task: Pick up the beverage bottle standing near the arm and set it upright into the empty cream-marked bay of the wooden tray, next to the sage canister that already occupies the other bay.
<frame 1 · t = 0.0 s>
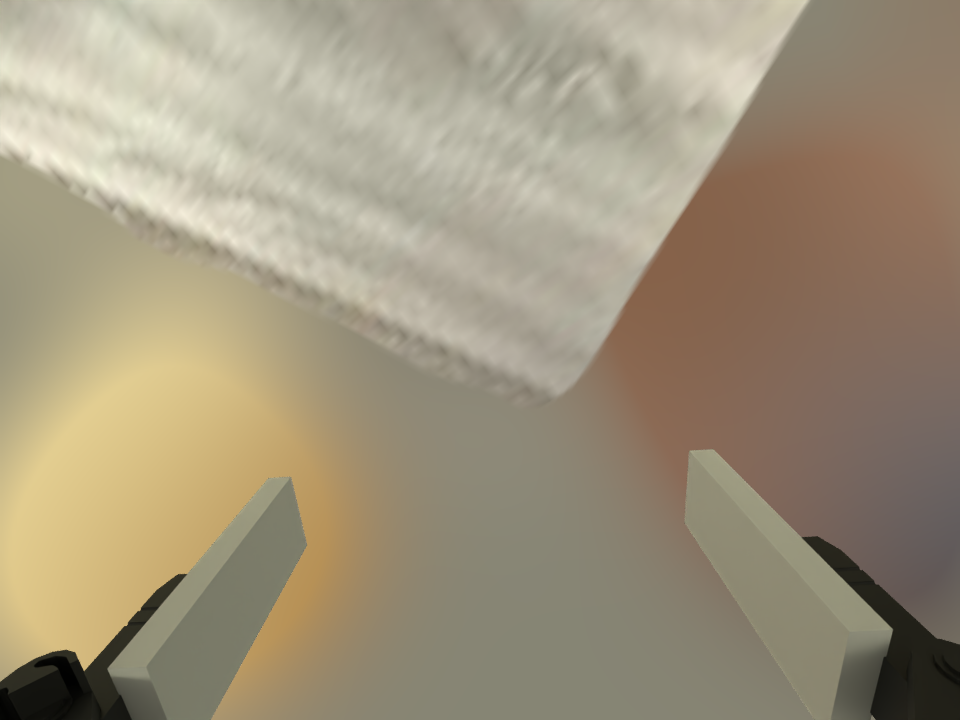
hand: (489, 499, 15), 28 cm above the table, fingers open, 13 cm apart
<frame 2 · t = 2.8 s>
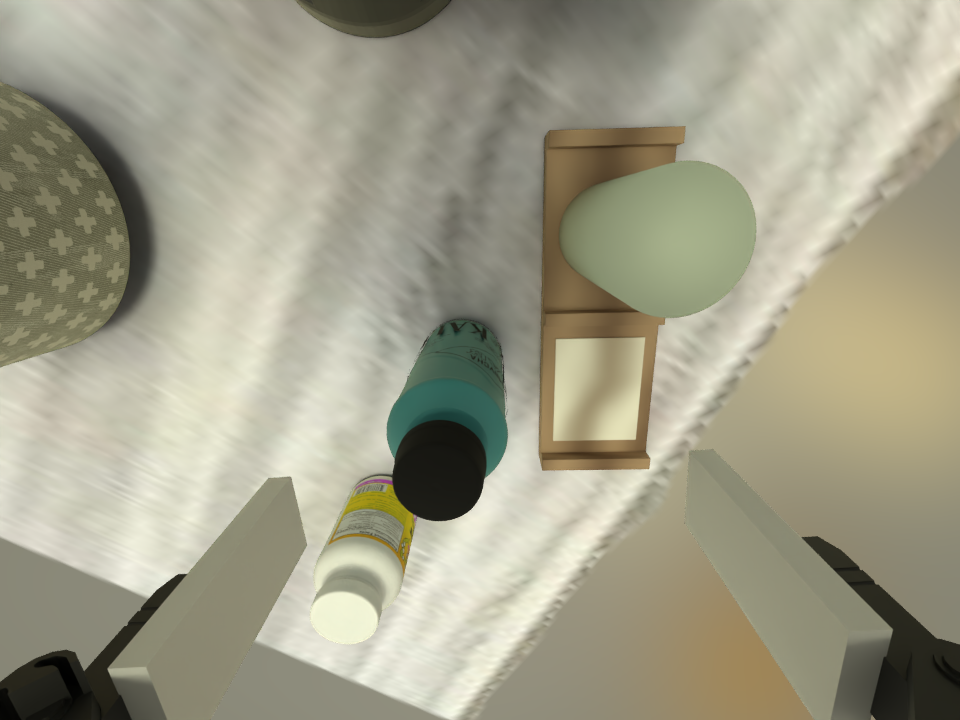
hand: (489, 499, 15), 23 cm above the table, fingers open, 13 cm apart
wooden tray: (596, 312, 36), on the table
supplement bottle: (385, 501, 42), on the table
beverage bottle: (463, 349, 38), on the table
planter: (38, 222, 35), on the table
sage canister: (601, 232, 34), resting on wooden tray
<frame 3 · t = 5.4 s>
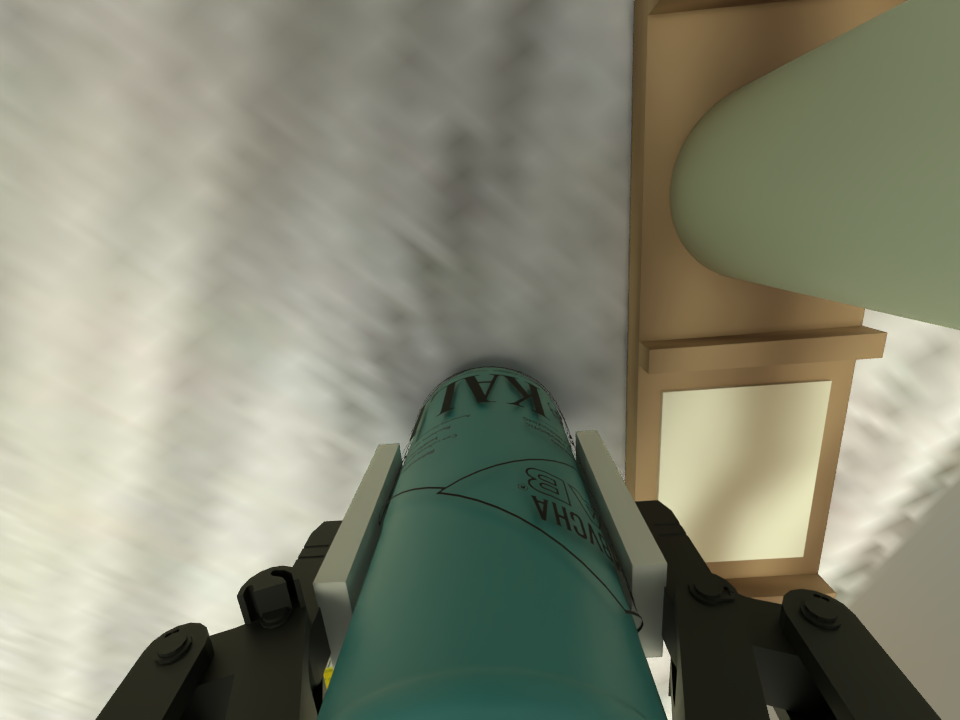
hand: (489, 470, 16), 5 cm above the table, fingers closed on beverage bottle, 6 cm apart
wooden tray: (729, 336, 20), on the table
beverage bottle: (488, 413, 21), on the table, touching gripper
sage canister: (742, 187, 18), resting on wooden tray
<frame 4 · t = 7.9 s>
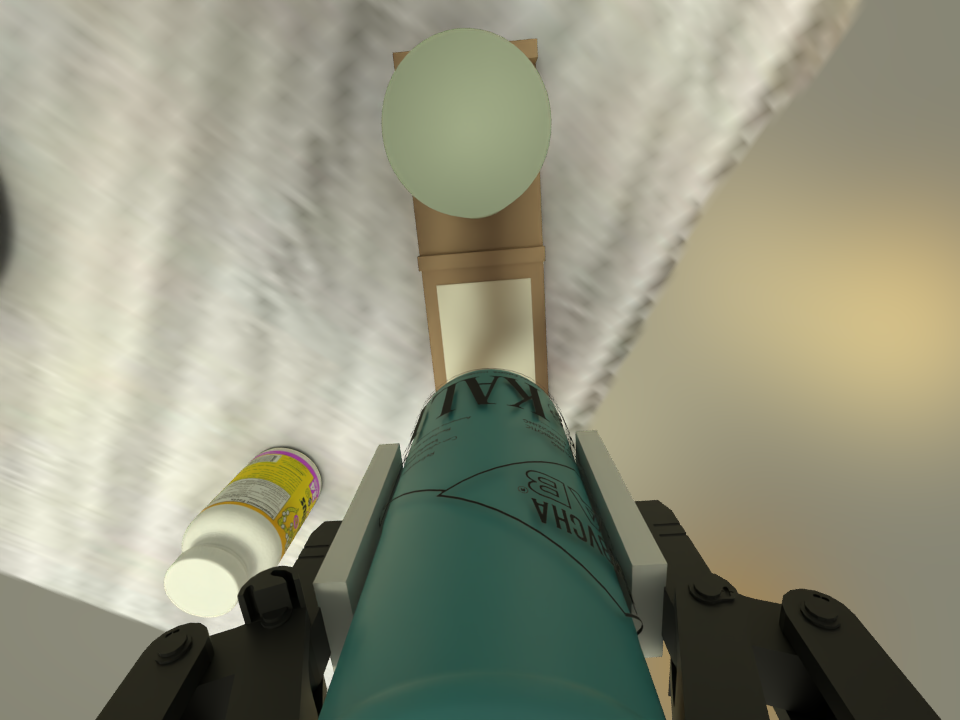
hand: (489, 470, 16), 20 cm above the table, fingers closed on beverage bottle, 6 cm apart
wooden tray: (481, 256, 34), on the table
supplement bottle: (288, 476, 40), on the table
beverage bottle: (489, 414, 21), point 15 cm above the table, touching gripper
sage canister: (474, 168, 32), resting on wooden tray
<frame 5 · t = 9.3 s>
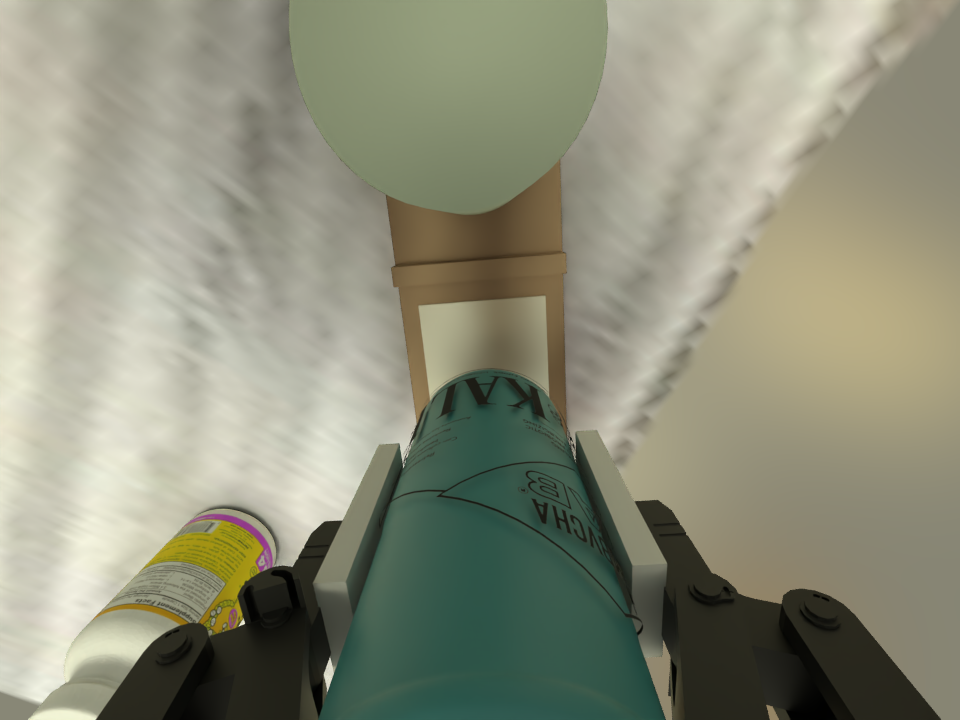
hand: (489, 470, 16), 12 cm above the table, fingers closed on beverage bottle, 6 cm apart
wooden tray: (479, 265, 26), on the table
supplement bottle: (235, 541, 32), on the table
beverage bottle: (489, 414, 21), point 6 cm above the table, touching gripper
sage canister: (469, 146, 24), resting on wooden tray
when the fingers open (8 cm above the table, at t = 10.4 s): beverage bottle drops 1 cm, resting on wooden tray.
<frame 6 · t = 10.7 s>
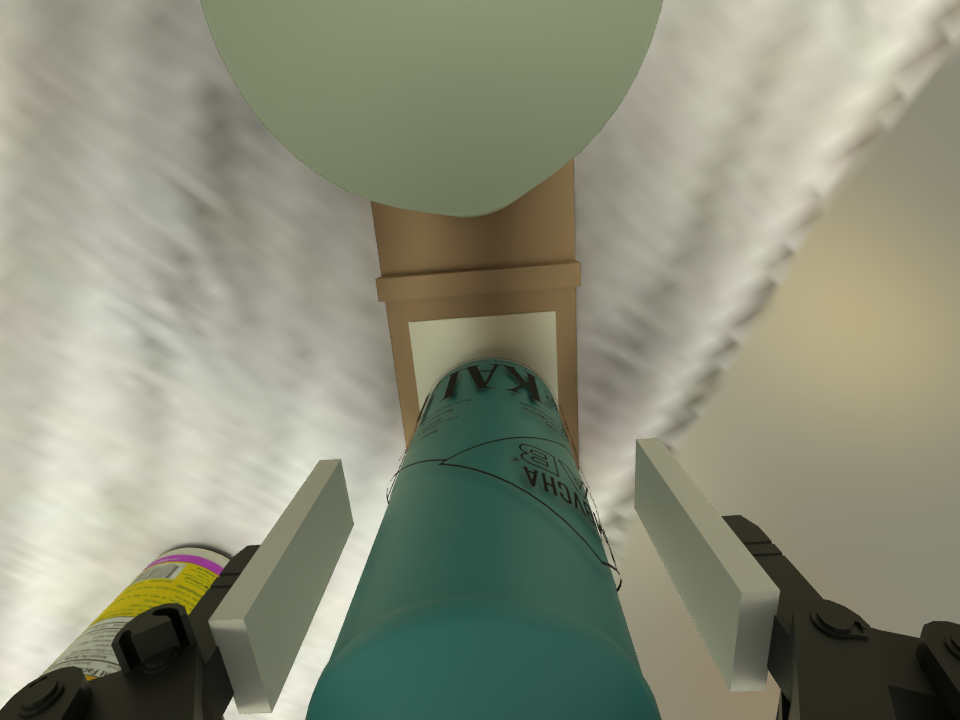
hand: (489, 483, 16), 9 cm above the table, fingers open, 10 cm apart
wooden tray: (478, 275, 22), on the table
supplement bottle: (205, 582, 28), on the table
beverage bottle: (490, 402, 23), point 2 cm above the table, touching wooden tray
sage canister: (467, 137, 20), resting on wooden tray
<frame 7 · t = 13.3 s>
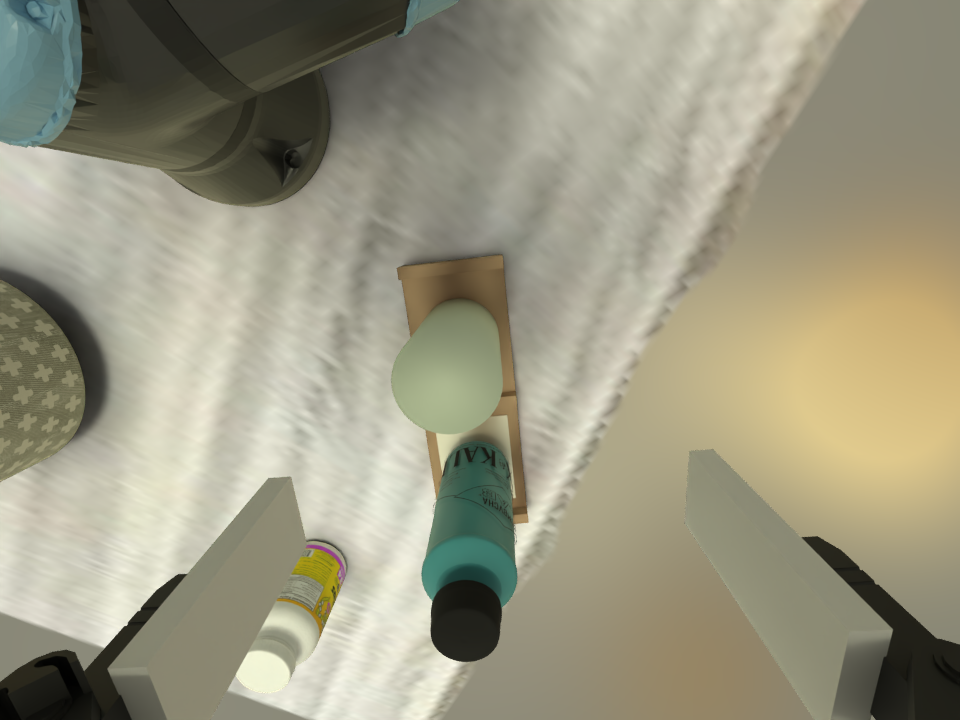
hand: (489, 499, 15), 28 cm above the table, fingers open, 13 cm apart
wooden tray: (469, 395, 44), on the table
supplement bottle: (319, 562, 50), on the table
beverage bottle: (477, 459, 44), point 2 cm above the table, touching wooden tray
planter: (16, 362, 44), on the table
sage canister: (461, 333, 42), resting on wooden tray
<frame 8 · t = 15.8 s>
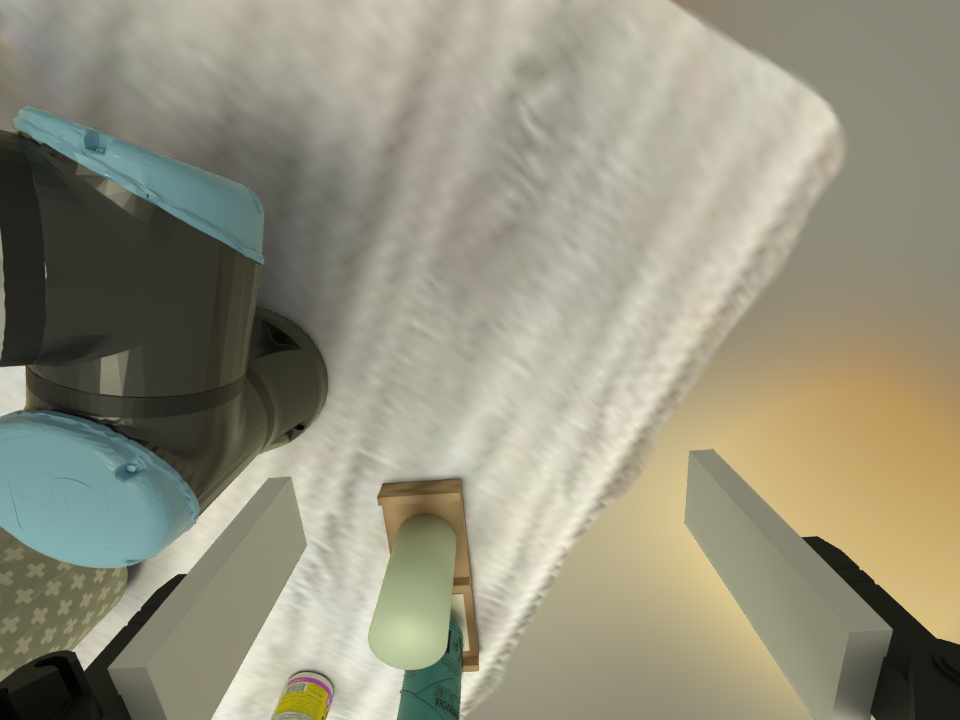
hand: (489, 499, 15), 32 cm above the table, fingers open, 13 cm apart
wooden tray: (434, 573, 55), on the table
supplement bottle: (311, 685, 61), on the table
beverage bottle: (439, 622, 55), point 2 cm above the table, touching wooden tray
planter: (68, 538, 54), on the table
sage canister: (428, 530, 53), resting on wooden tray
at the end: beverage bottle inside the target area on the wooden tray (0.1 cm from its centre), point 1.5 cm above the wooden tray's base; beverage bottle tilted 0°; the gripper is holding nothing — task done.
